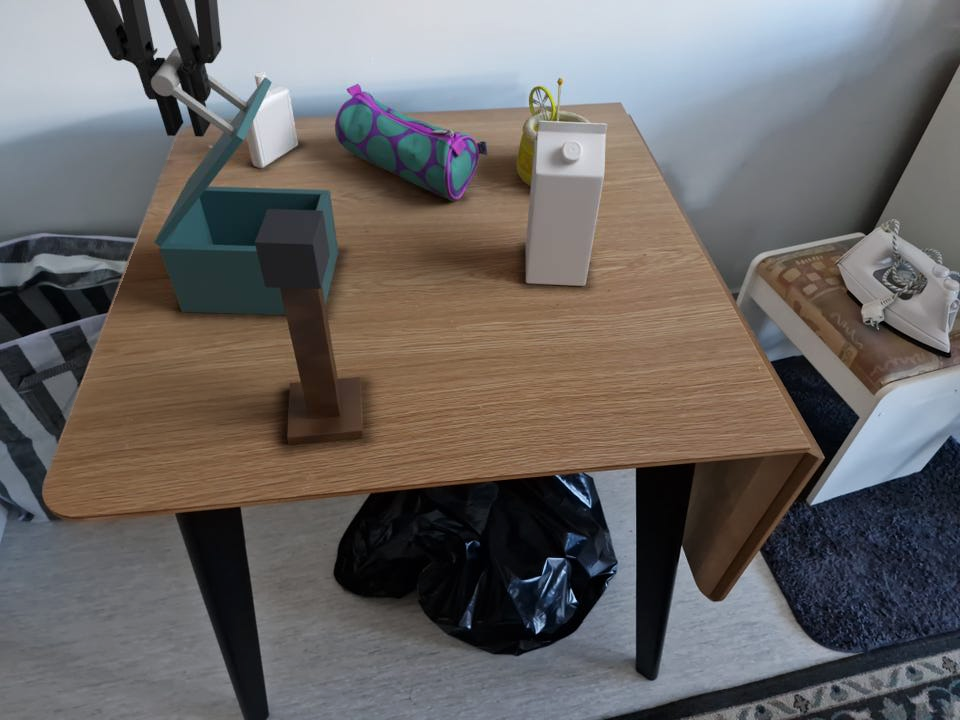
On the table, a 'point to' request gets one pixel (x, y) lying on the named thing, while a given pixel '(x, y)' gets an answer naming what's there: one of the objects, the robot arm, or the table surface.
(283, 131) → the perfume bottle
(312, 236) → the block
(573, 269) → the milk carton
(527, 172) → the yellow pot
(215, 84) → the lid
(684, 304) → the table surface
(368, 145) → the pencil case
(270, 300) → the chest
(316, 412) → the post stand
